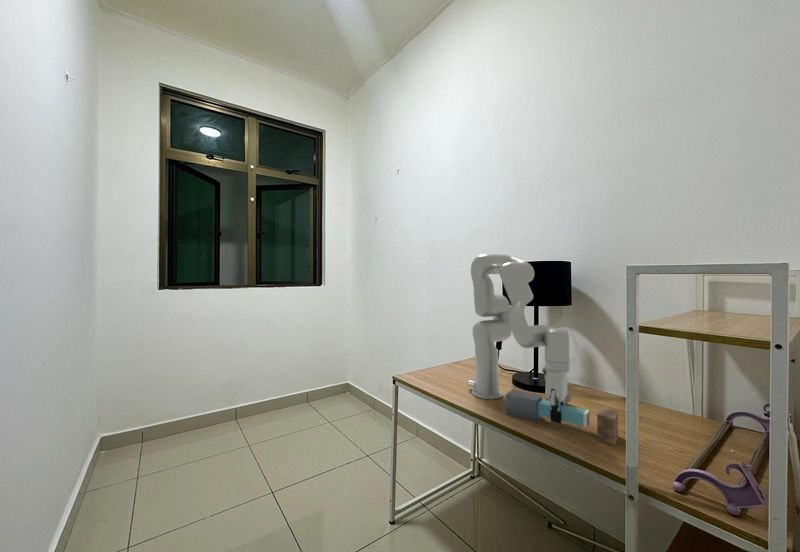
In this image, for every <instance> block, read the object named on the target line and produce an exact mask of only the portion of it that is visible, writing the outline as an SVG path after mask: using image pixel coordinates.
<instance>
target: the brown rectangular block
mask: <svg viewBox="0 0 800 552" xmlns="http://www.w3.org/2000/svg"><path fill="white" fill-rule="evenodd" d="M596 424H597V432H596V433H597V434H596V435H597V442H598V441H599V442H602V443H606V444H609V445H613V446H616V443H617V440H618V439H619V411H618V410H615V409H611V408H610V409H609V408H605V407H600V408H599V410H598V412H597V414H596Z"/></svg>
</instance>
